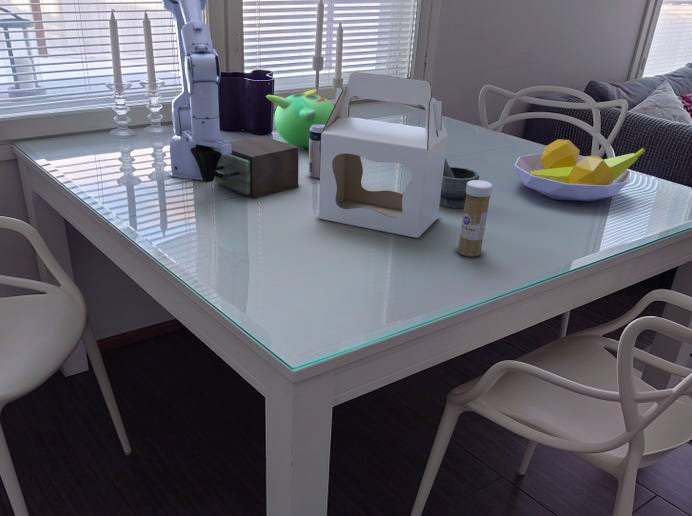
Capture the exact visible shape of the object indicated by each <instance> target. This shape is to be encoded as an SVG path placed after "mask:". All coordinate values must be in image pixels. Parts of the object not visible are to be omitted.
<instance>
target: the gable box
mask: <svg viewBox="0 0 692 516" xmlns="http://www.w3.org/2000/svg"><path fill="white" fill-rule="evenodd" d="M432 91H433V86H432V85H431V82H430V81H429V80H426V79H418V78H410V77H400V76H392V75H383V74H374V73H366V72H359V71H353V72H351V73H350V74H349V75H348V81H347V86H344V88H343V87H336V92H335V99H334V100H335V101H334V105H333V106H334V108H333V110H332V112H331V114H330V116H329V118H328V121H327V123H326V125H325V127H324V129H323V131H322V133H321V162H320V179H319V194H318V195H319V197H318V198H319V199H318V219H319V220H324V221H328V222H332V223H333V222H334V223H338V224H343V225H349V226H354V227H359V228H363V229H368V230H373V231H379V232H383V233H389V234H394V235H399V236H403V237H409V238H414V239H419V238H420V237H421V236H422V235H423V233H425V232H426V231H427V230H428V229H429V228H430V227H431V226H432V224H433V223H434V222H436V221H437V219H438V218H439V210H440V195H441V187H442V179H443V171H444V163H445V158H446V153H447V146H448V137H449V134H448V131H447V129H446V126H445V123H444V119H443V100H440V99H439V100H436V97H433V95H432ZM353 98H354V99H357V100H358V99H365V100H373V101H380V102H389V103H396V104H403V105H411V106H417V107H419V108H424V110H425V112H426V116H425V117H426V118H425V125H424V127H423V126H422V127H421V126H416V125H407V124H402V123H394V122H387V121H380V120H373V119H366V118H359V117H352V116H351V117H350V104H351V100H353ZM338 116H339V117H338ZM337 119H338V120H337ZM361 157H362V158H363V159H364V158H365V159H367V160H370V161H372V162H376V163H393V164H400V165H403V166H405V167H406V168H408V169H409V170H410V173H411V175H410V180H409V182H408V183H407V185H406V187H405V189H404V192H403V194H402V193H400V192H398V191H394V190H393V191H392V190H388V189H387V190H367V189H365V188H364V187H363V186H362V180H363V179H362V178H363V174H364V168H363V164H362V163H363V162H362V159H361Z"/></svg>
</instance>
